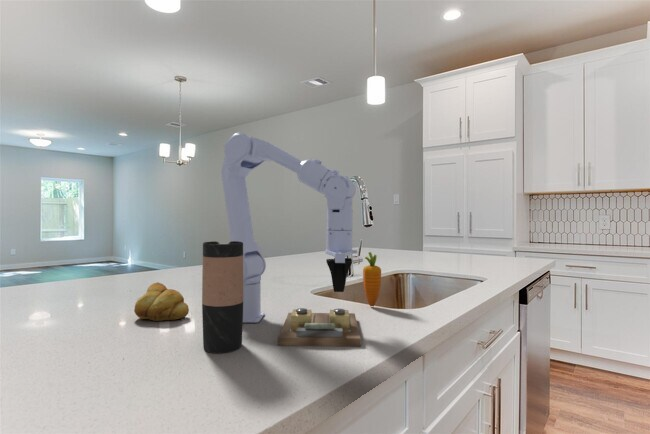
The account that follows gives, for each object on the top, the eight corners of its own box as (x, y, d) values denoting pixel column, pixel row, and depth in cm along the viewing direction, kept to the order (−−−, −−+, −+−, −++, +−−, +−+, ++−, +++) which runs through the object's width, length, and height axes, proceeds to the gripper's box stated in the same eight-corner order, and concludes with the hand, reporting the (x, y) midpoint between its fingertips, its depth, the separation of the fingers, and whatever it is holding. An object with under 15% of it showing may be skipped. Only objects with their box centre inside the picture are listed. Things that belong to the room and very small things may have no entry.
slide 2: (329, 330, 76) (329, 313, 76) (329, 323, 81) (329, 307, 81) (349, 330, 76) (349, 313, 76) (348, 323, 81) (348, 307, 81)
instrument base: (278, 345, 72) (278, 325, 72) (288, 318, 90) (288, 302, 90) (360, 346, 72) (360, 326, 72) (354, 319, 90) (354, 303, 90)
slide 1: (290, 330, 77) (290, 312, 76) (293, 323, 82) (293, 306, 81) (310, 330, 76) (310, 312, 76) (311, 323, 81) (311, 306, 81)
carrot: (380, 310, 99) (380, 253, 99) (361, 309, 100) (362, 253, 100) (381, 305, 104) (381, 251, 104) (363, 304, 105) (364, 251, 105)
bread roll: (197, 316, 93) (197, 283, 92) (167, 327, 84) (168, 291, 83) (157, 310, 97) (157, 280, 97) (125, 320, 88) (125, 287, 88)
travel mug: (221, 357, 66) (221, 244, 66) (193, 348, 70) (193, 242, 70) (251, 344, 73) (252, 242, 72) (224, 337, 77) (224, 240, 76)
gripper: (360, 232, 75) (359, 299, 75) (355, 228, 90) (354, 285, 90) (325, 231, 75) (324, 298, 75) (326, 228, 90) (325, 284, 90)
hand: (338, 291), depth 83 cm, fingers closed
